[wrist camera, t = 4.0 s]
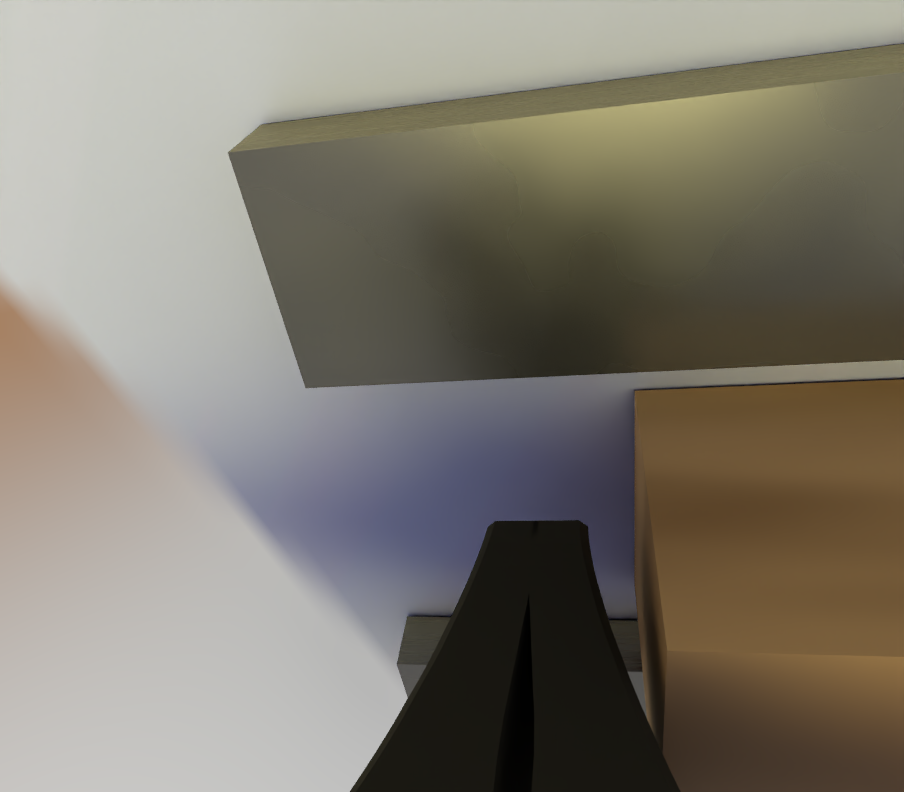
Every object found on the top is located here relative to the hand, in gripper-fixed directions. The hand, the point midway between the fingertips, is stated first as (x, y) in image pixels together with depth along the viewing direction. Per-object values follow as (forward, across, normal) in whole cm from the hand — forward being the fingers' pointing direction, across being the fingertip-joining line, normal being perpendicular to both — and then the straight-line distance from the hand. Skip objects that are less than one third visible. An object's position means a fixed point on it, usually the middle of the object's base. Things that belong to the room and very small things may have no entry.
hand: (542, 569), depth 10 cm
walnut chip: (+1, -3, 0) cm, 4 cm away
